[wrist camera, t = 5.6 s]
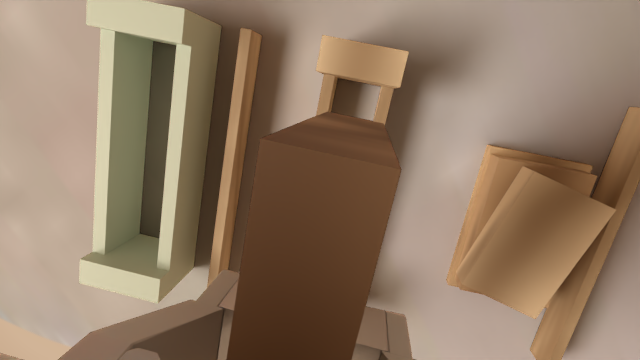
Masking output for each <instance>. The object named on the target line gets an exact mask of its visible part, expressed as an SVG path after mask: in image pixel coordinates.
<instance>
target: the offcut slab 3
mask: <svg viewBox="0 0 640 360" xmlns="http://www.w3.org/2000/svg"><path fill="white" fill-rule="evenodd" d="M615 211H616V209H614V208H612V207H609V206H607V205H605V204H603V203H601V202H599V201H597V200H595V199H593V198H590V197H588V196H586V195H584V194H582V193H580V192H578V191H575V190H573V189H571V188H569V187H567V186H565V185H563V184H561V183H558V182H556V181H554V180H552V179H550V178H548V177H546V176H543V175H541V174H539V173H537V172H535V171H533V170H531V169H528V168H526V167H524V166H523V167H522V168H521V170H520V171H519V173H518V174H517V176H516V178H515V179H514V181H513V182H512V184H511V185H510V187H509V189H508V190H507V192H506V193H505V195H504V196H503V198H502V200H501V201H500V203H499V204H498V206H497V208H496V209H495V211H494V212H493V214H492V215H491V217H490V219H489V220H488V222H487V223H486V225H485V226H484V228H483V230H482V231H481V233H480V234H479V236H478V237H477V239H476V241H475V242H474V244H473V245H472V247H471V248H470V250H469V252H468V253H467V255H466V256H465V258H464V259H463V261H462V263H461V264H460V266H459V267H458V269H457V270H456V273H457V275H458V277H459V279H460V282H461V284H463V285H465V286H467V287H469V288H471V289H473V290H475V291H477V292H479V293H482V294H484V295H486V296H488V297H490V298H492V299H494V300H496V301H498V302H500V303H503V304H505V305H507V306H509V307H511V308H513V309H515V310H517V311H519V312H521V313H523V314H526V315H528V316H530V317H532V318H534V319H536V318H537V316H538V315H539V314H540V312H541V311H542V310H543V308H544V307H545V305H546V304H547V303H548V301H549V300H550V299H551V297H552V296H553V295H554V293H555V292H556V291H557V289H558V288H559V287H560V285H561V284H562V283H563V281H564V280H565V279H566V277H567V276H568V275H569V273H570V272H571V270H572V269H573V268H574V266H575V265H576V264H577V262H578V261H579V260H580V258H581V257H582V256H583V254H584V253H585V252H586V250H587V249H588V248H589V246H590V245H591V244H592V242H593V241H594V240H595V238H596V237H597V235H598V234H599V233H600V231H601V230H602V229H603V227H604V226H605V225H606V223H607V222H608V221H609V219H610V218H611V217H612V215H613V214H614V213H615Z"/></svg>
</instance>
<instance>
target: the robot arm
mask: <svg viewBox="0 0 640 360" xmlns="http://www.w3.org/2000/svg"><path fill="white" fill-rule="evenodd" d="M238 280H239V272H234V271H230V270H222V271H221V272H220V274H219V275H218V276H217V277H216V278H215V279H214V281H213V282H212V283H211V284H210V285H209V287H208V288H207V289H206V290H205V291H204V292H203V294H202V295H201V296H200V297H199V298H198V299H197V301H194V300H188V301H185V302H182V303H179V304H176V305H173V306H170V307H166V308H163V309H160V310H157V311H154V312H151V313H148V314H145V315H142V316H139V317H136V318H133V319H130V320H126V321H123V322H120V323H117V324H114V325H111V326H108V327H105V328H102V329H99V330H96V331H93V332H90V333H89V334H88V335H87V336H85V337H84V338H83V339H82V340H81V341H79V342H78V343H77V344H76V345H75V346H73V347H72V348H71V349H70V350H69V351H68V352H66V353H65V354H64V355H63V356H62V357H60V358H59V359H58V360H226V358H227V352H228V345H229V339H230V332H231V326H232V319H233V313H234V306H235V300H236V293H237V286H238ZM0 360H23V359H19V358H16V357H12V356H9V355H6V354H2V353H0ZM352 360H415V359H413V358H412V352H411V346H410V339H409V333H408V327H407V321H406V317H405V315H403V314H399V313H394V312H389V311H384V310H380V309H376V308H371V307H367V306H366V307H365V310H364V314H363V318H362V322H361V326H360V329H359V333H358V337H357V341H356V345H355V349H354V352H353V356H352Z"/></svg>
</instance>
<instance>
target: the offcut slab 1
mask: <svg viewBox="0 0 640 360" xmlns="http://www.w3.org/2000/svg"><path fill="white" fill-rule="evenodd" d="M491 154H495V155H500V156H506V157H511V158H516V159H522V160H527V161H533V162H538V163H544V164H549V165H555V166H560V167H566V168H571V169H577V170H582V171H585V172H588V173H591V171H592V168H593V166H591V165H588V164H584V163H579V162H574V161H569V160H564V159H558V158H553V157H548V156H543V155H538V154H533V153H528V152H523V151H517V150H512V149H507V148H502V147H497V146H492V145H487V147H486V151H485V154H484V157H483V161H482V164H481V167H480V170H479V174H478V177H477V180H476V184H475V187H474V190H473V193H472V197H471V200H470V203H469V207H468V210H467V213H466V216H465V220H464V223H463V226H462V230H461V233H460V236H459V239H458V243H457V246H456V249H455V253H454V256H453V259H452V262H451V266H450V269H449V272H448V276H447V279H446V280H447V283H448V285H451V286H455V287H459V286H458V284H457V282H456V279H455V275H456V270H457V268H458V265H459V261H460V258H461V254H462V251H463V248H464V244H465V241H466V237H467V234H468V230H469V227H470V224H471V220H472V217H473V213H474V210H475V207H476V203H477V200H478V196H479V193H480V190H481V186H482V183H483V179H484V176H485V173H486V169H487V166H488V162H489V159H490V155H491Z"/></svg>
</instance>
